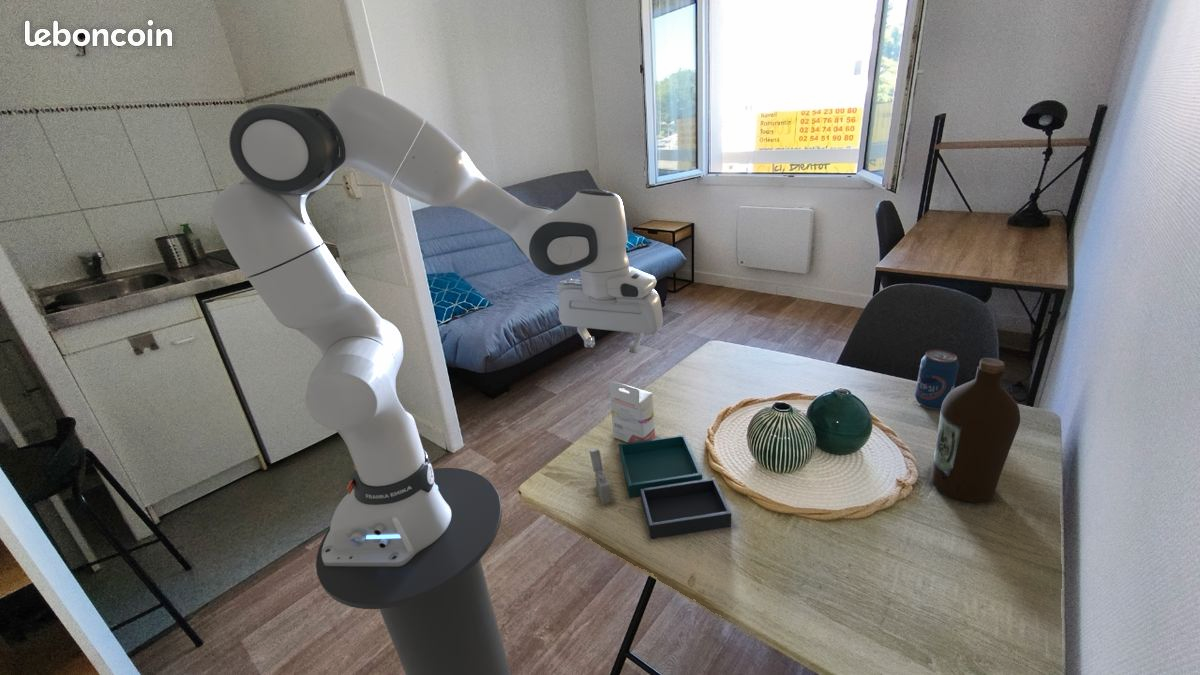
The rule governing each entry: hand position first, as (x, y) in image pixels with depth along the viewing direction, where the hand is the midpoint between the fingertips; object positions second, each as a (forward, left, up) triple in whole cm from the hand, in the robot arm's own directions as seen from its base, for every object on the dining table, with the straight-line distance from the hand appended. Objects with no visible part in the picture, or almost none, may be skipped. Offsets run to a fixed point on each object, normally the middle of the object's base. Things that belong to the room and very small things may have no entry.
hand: (611, 349), depth 97 cm
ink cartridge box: (+4, +6, -26) cm, 27 cm away
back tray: (+7, -6, -26) cm, 27 cm away
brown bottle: (+59, -22, -26) cm, 68 cm away
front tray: (+9, -19, -26) cm, 33 cm away
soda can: (+72, +3, -26) cm, 76 cm away
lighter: (-5, -10, -26) cm, 28 cm away
